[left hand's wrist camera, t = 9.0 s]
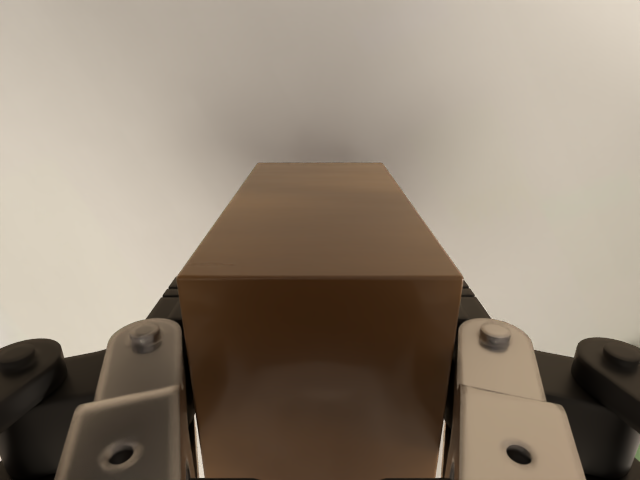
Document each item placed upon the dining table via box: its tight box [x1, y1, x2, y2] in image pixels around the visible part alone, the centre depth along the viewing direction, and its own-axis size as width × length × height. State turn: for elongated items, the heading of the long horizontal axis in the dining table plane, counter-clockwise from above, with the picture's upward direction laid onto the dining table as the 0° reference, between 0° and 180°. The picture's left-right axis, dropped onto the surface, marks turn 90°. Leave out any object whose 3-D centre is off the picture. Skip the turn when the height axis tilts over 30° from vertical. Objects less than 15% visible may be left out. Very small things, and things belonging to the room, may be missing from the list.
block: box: [176, 163, 464, 480], centre depth 12 cm, size 4×5×9 cm
